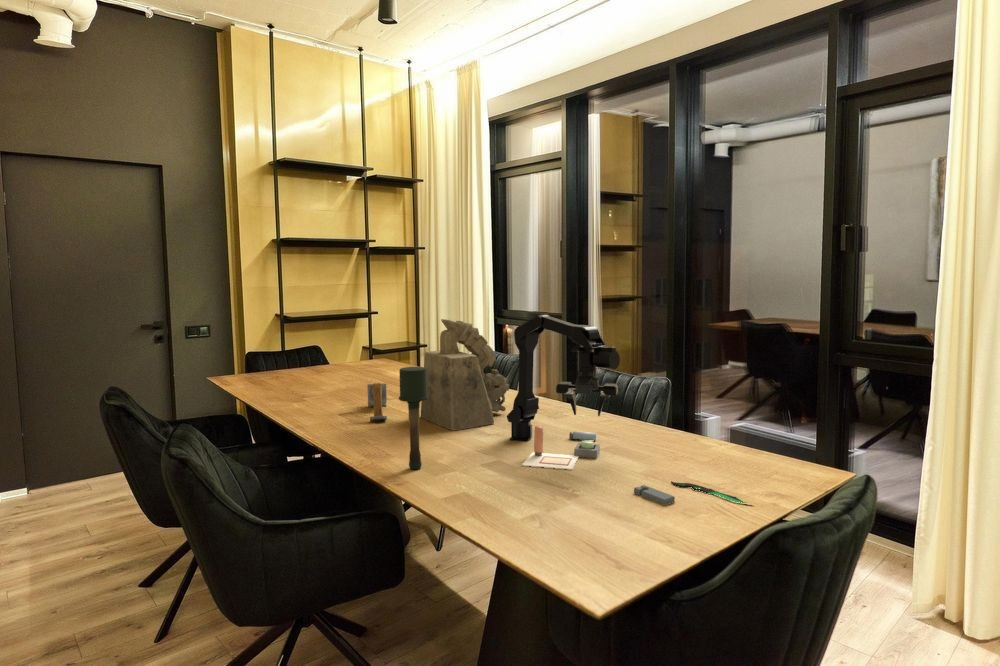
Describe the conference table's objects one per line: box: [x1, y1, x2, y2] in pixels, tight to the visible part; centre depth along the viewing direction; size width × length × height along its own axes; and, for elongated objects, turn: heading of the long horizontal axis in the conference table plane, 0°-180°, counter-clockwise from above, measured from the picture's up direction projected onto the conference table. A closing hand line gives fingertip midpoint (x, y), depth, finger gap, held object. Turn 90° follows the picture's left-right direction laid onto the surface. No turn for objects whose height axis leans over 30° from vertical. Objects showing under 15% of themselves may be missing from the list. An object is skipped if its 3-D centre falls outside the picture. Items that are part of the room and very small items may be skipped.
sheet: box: [521, 451, 580, 471], centre depth 187 cm, size 15×13×1 cm
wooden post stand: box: [366, 382, 388, 422], centre depth 252 cm, size 8×17×30 cm
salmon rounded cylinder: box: [533, 425, 545, 456], centre depth 192 cm, size 3×3×9 cm
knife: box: [670, 480, 747, 503], centre depth 159 cm, size 23×1×5 cm
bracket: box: [633, 484, 675, 506], centre depth 156 cm, size 4×10×2 cm, turn 34°
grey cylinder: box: [569, 431, 597, 442], centre depth 211 cm, size 9×3×3 cm
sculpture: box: [420, 318, 510, 431], centre depth 241 cm, size 27×33×40 cm
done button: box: [580, 440, 595, 449], centre depth 193 cm, size 4×4×2 cm
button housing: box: [573, 442, 601, 459], centre depth 194 cm, size 7×7×2 cm
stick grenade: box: [398, 366, 428, 471], centre depth 180 cm, size 8×9×30 cm
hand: (587, 415), depth 192 cm, fingers open, 7 cm apart
